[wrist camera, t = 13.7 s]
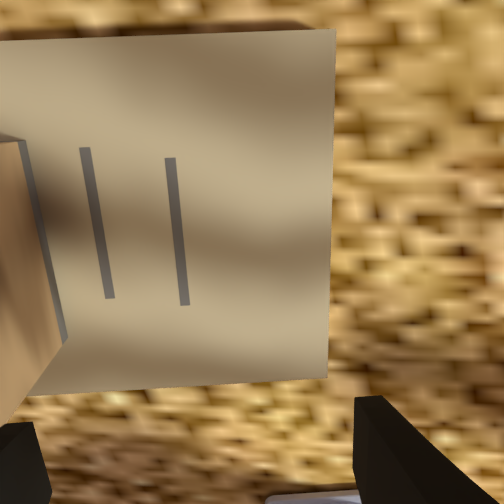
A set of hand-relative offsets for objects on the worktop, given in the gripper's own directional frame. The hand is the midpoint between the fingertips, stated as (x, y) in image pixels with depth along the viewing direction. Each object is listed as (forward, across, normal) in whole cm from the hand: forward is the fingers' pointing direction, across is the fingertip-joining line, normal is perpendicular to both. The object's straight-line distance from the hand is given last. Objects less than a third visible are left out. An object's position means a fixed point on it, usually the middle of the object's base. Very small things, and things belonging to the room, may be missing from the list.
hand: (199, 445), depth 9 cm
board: (+9, +4, -3) cm, 11 cm away
